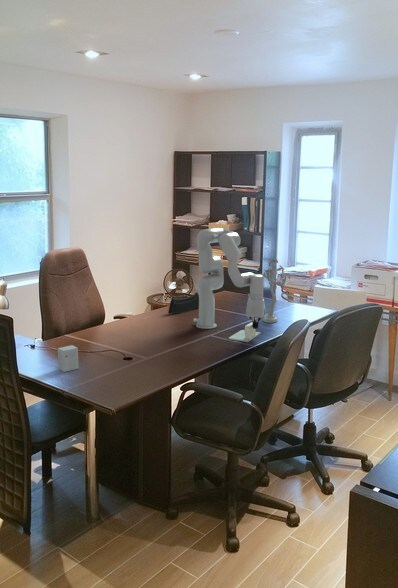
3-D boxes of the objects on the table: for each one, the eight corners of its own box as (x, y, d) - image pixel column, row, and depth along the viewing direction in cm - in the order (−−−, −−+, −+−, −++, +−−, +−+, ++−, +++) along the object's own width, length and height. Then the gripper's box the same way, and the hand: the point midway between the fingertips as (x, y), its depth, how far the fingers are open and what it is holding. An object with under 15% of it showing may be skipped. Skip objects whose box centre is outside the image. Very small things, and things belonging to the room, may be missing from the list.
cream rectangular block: (244, 338, 331) (244, 326, 330) (251, 334, 340) (251, 322, 338) (249, 338, 330) (249, 326, 329) (255, 334, 339) (255, 322, 337)
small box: (73, 365, 284) (72, 344, 282) (78, 368, 280) (78, 347, 278) (58, 369, 279) (57, 348, 277) (63, 372, 275) (62, 350, 273)
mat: (228, 339, 331) (228, 337, 331) (241, 331, 349) (241, 329, 349) (247, 342, 326) (247, 340, 326) (260, 333, 344) (260, 332, 343)
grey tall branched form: (256, 313, 391) (258, 254, 383) (291, 316, 385) (294, 256, 377) (248, 324, 365) (250, 260, 357) (286, 327, 359) (288, 262, 351)
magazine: (169, 302, 381) (198, 283, 401) (165, 302, 383) (194, 283, 403) (174, 325, 388) (202, 305, 408) (170, 324, 390) (199, 305, 410)
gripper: (241, 296, 329) (240, 328, 332) (266, 299, 322) (265, 331, 326) (246, 294, 335) (245, 325, 339) (271, 296, 329) (270, 328, 332)
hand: (255, 328), depth 332 cm, fingers closed
